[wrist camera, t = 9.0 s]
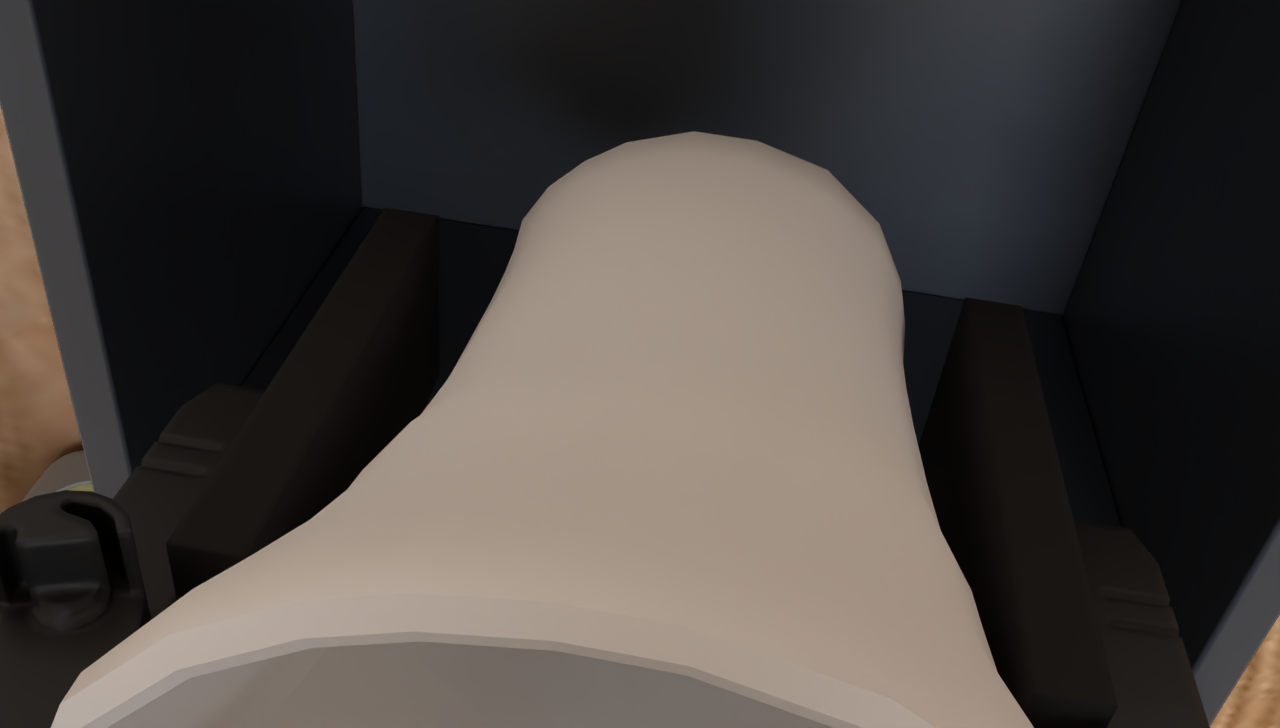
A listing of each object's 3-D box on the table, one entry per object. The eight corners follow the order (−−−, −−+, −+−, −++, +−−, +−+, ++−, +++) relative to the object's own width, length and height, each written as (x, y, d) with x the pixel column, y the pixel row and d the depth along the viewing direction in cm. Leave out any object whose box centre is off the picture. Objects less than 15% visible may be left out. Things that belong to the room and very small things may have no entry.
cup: (417, -82, 14) (-151, 446, 6) (1145, 143, 14) (1511, 925, 6) (344, 447, 19) (-12, 1104, 11) (878, 604, 20) (897, 1349, 12)
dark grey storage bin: (310, -384, 23) (-102, -308, 13) (1306, -255, 22) (1707, -63, 12) (344, 213, 31) (106, 551, 21) (1079, 327, 30) (1203, 740, 20)
